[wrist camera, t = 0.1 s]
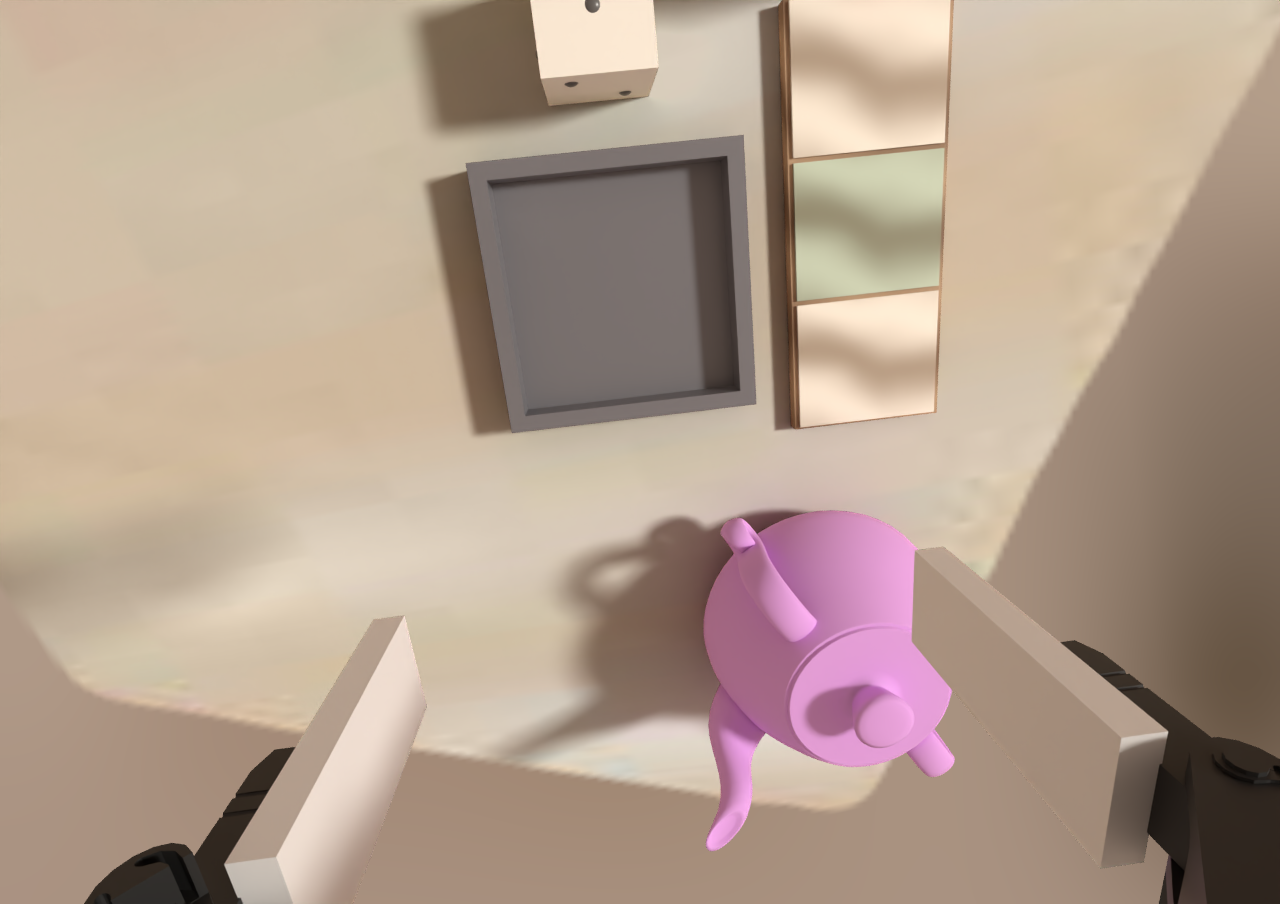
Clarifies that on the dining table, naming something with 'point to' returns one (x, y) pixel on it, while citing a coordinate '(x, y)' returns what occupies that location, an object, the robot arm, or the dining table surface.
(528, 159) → the dice tray
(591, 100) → the cream cube
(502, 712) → the dining table surface
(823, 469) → the dining table surface
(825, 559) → the teapot
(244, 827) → the robot arm
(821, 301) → the board
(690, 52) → the dining table surface
